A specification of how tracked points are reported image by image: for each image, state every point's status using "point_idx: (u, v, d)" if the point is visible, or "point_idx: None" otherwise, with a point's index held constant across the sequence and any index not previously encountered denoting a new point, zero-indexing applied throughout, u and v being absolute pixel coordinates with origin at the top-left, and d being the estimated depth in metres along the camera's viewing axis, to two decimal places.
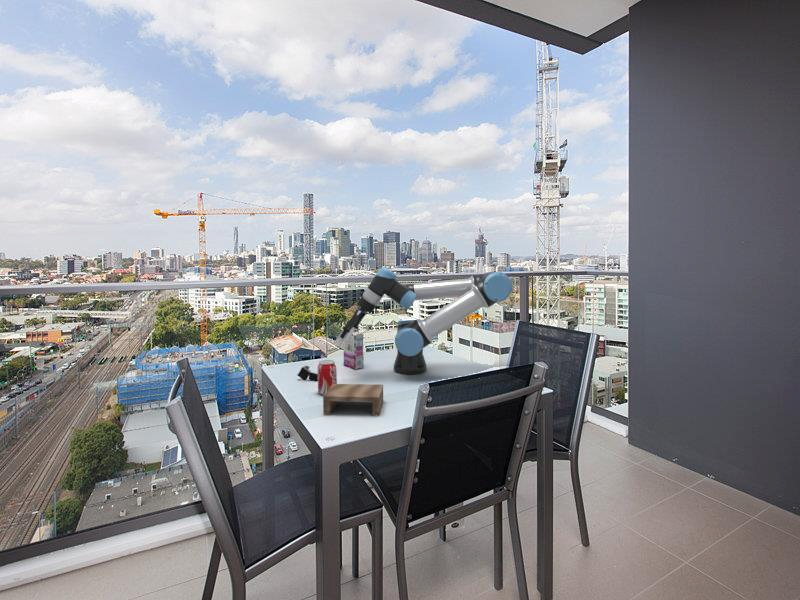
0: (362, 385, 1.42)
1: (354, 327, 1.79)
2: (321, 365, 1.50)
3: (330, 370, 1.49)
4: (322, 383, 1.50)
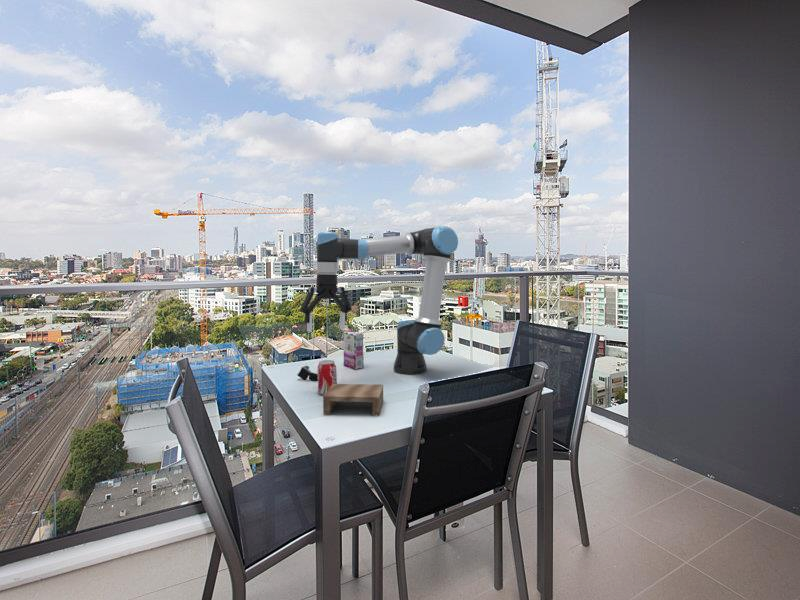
0: (362, 385, 1.42)
1: (344, 312, 1.56)
2: (321, 365, 1.50)
3: (329, 370, 1.49)
4: (322, 383, 1.50)
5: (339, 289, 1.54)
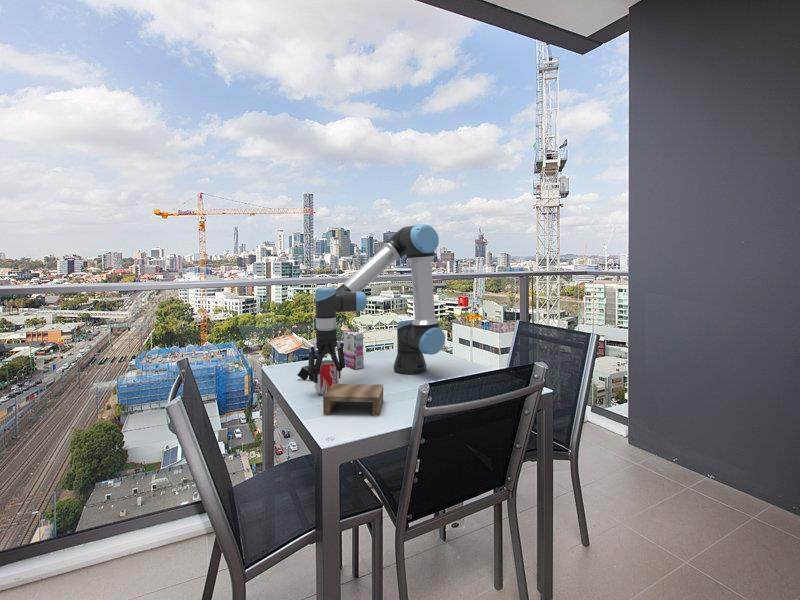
0: (362, 385, 1.42)
1: (337, 370, 1.55)
2: (321, 365, 1.50)
3: (330, 370, 1.49)
4: (322, 383, 1.50)
5: (338, 344, 1.54)
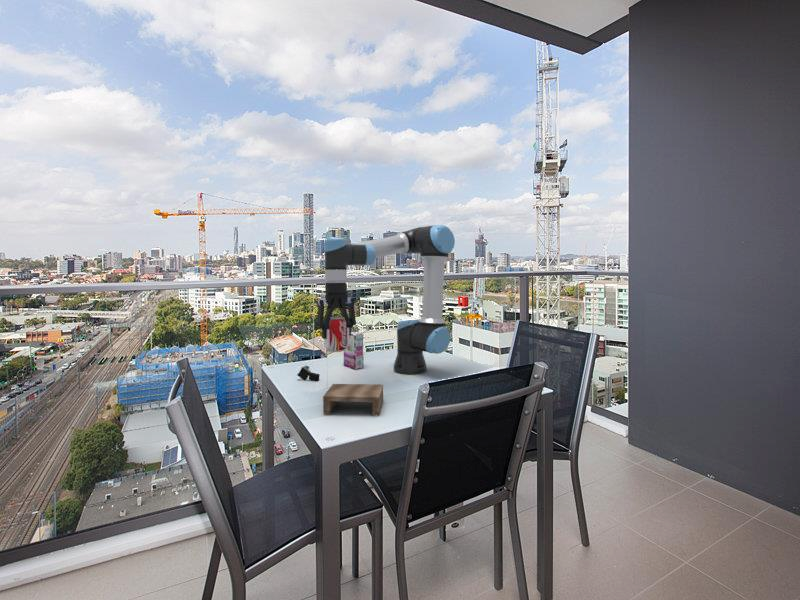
0: (362, 385, 1.42)
1: (348, 327, 1.46)
2: (330, 320, 1.42)
3: (339, 325, 1.41)
4: (331, 339, 1.41)
5: (349, 299, 1.46)
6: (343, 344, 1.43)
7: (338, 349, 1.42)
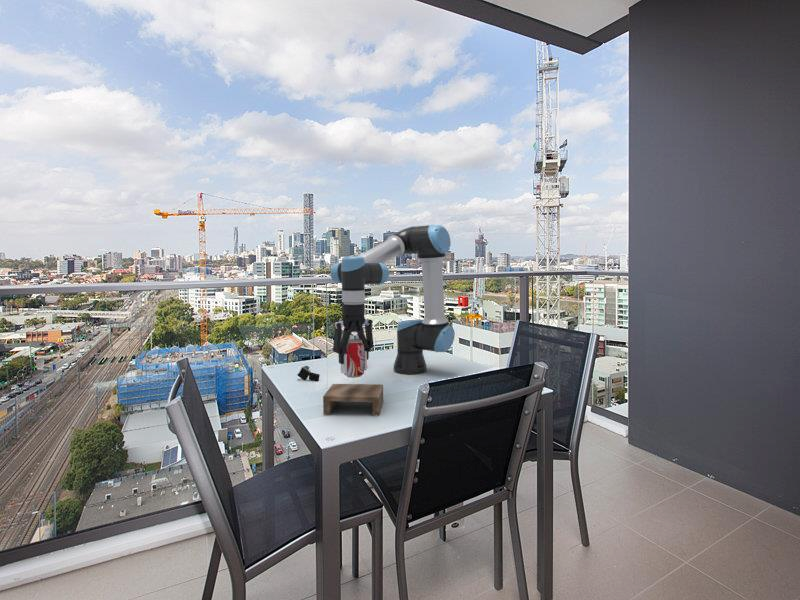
0: (362, 385, 1.42)
1: (365, 350, 1.38)
2: (348, 344, 1.33)
3: (357, 349, 1.33)
4: (348, 364, 1.33)
5: (366, 321, 1.38)
6: (361, 369, 1.34)
7: (356, 375, 1.33)
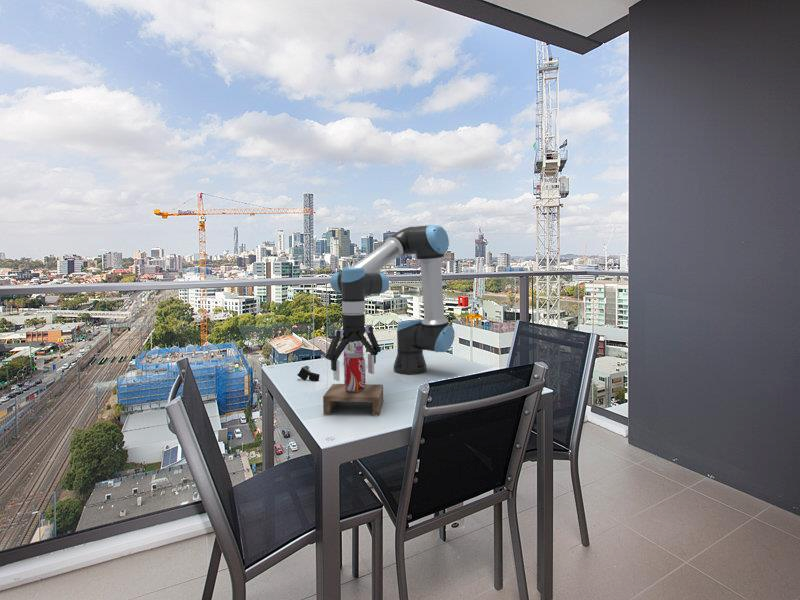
0: None
1: (372, 354, 1.40)
2: (349, 358, 1.34)
3: (358, 364, 1.33)
4: (349, 379, 1.33)
5: (367, 329, 1.38)
6: (362, 384, 1.35)
7: (357, 389, 1.34)
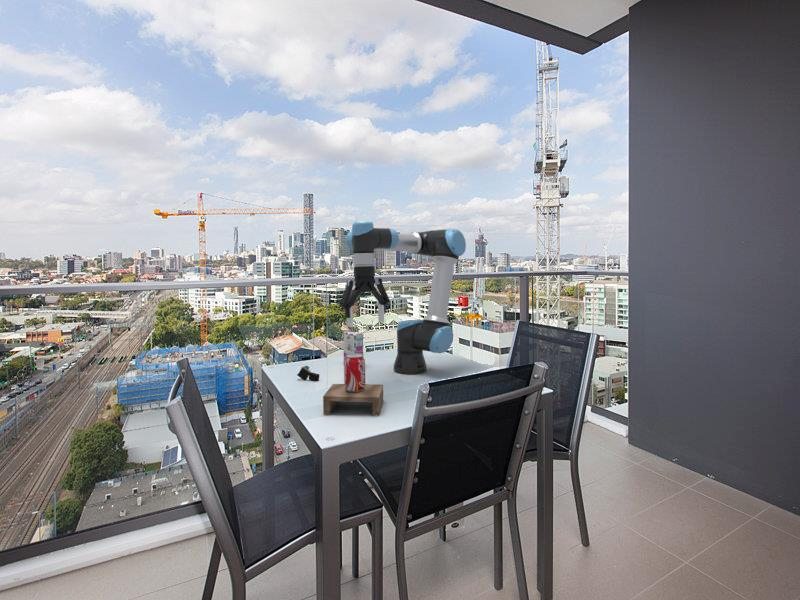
0: None
1: (382, 304, 1.50)
2: (348, 358, 1.34)
3: (358, 364, 1.33)
4: (349, 379, 1.33)
5: (377, 281, 1.48)
6: (362, 384, 1.35)
7: (357, 389, 1.34)
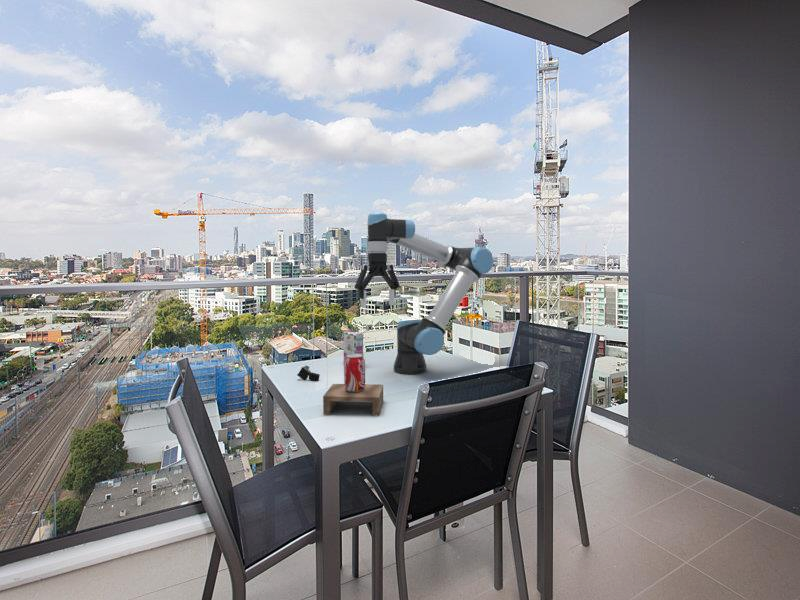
0: None
1: (393, 288, 1.66)
2: (348, 358, 1.34)
3: (358, 364, 1.33)
4: (349, 379, 1.33)
5: (388, 267, 1.64)
6: (362, 384, 1.35)
7: (357, 389, 1.34)
